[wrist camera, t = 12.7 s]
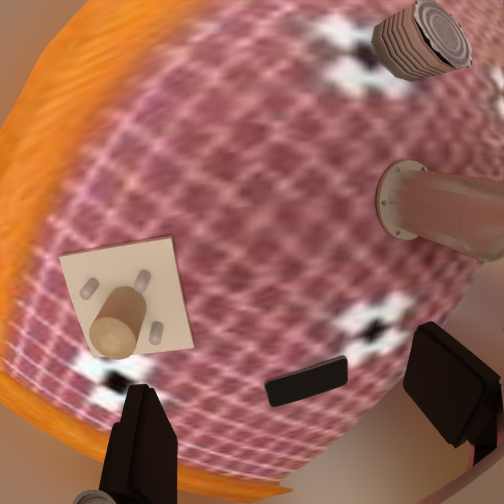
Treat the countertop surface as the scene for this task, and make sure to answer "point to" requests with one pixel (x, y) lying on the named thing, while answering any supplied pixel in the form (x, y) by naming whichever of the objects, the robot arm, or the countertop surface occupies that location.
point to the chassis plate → (141, 280)
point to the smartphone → (307, 382)
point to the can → (421, 42)
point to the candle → (118, 323)
